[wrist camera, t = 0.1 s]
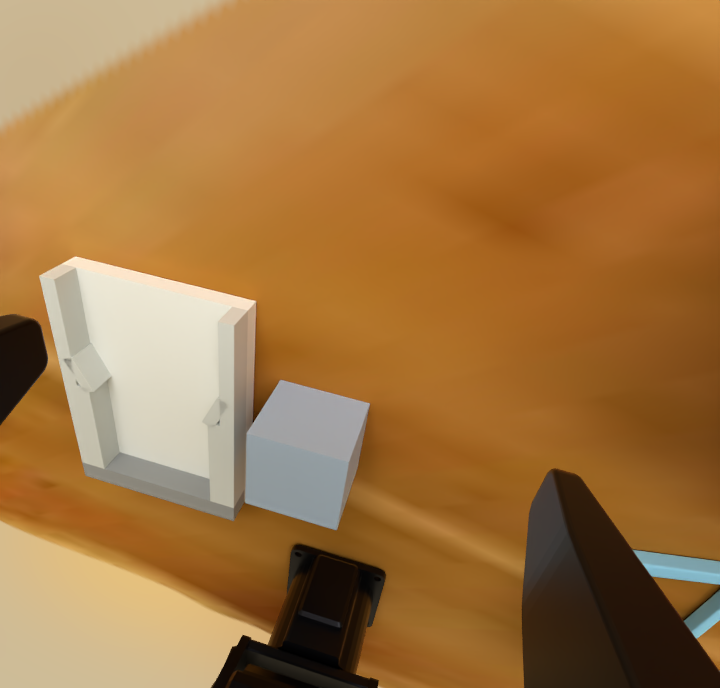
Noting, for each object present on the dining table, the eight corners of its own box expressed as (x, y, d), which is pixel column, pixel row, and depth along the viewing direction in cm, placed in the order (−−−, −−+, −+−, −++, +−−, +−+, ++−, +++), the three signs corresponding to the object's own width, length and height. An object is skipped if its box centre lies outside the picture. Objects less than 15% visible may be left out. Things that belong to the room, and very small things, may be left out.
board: (250, 490, 33) (233, 521, 31) (110, 448, 34) (85, 475, 32) (256, 301, 25) (234, 325, 23) (75, 256, 27) (39, 275, 24)
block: (357, 467, 30) (336, 530, 26) (276, 444, 30) (245, 503, 27) (370, 402, 27) (349, 462, 23) (281, 378, 28) (246, 433, 24)
